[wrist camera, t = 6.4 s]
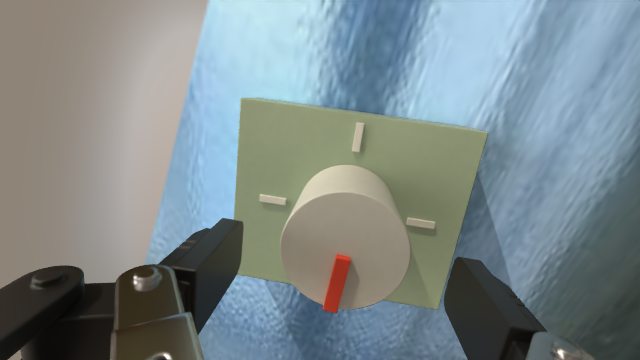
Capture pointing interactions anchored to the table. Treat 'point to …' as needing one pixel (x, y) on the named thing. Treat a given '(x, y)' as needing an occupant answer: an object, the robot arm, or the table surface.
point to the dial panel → (364, 151)
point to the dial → (345, 240)
